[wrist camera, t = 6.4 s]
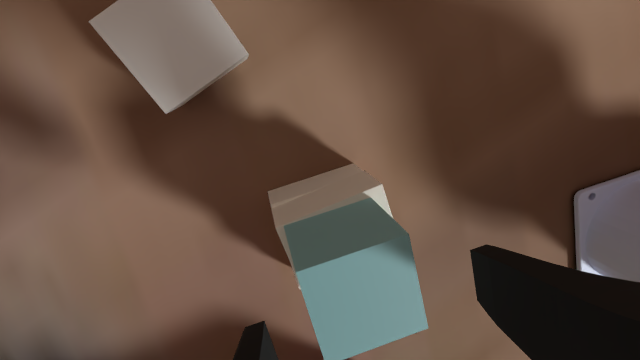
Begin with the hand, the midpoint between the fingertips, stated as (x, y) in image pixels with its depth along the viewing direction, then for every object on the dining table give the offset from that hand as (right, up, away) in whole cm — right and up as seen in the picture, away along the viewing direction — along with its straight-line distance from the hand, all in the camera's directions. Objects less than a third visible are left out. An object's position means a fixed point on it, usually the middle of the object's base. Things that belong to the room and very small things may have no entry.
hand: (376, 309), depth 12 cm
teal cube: (-1, +1, +5) cm, 5 cm away
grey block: (-8, +11, +5) cm, 14 cm away
